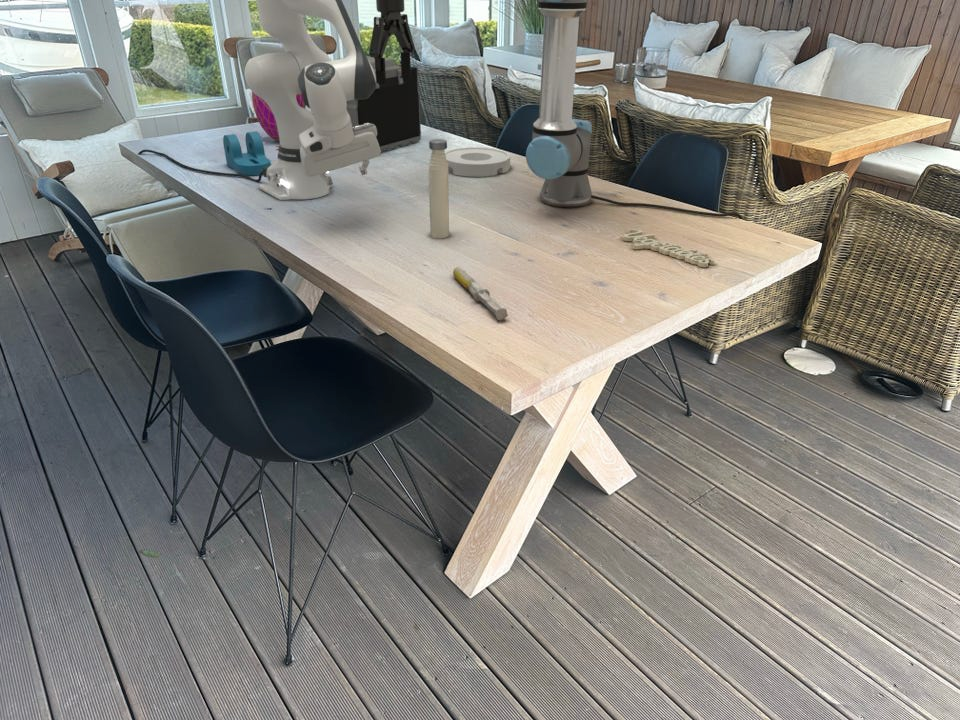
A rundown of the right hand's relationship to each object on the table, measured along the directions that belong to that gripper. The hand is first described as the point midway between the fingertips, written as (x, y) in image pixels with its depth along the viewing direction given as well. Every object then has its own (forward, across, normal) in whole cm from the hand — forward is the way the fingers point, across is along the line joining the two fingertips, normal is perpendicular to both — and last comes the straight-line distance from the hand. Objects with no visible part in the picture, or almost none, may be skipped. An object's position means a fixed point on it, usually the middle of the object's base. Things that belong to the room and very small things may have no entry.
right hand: (394, 80), depth 195 cm
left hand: (+20, +31, +3) cm, 37 cm away
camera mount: (+31, +2, -56) cm, 64 cm away
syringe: (+31, +59, +55) cm, 87 cm away
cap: (+8, +30, +30) cm, 43 cm away
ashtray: (+31, -33, +10) cm, 47 cm away
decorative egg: (+31, -35, -72) cm, 86 cm away
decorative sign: (+31, +15, +84) cm, 91 cm away
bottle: (+31, +30, +30) cm, 53 cm away
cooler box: (+31, -43, -38) cm, 65 cm away
